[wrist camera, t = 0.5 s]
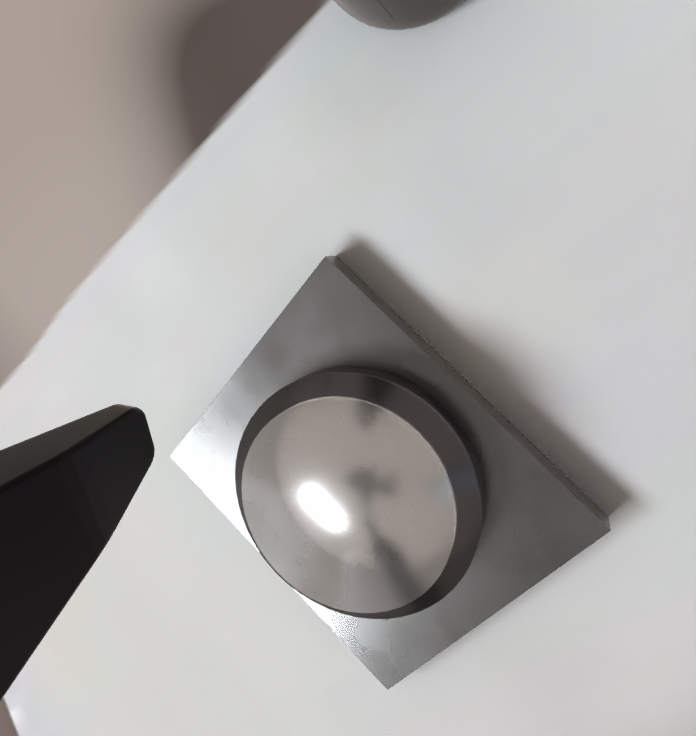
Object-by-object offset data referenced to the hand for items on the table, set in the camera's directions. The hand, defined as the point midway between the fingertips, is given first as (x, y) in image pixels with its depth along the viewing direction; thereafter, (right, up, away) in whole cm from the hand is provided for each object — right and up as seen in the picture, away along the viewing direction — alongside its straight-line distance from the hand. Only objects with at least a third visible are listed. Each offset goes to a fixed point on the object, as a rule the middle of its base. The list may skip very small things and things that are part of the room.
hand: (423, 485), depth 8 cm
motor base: (0, -3, +16) cm, 16 cm away
